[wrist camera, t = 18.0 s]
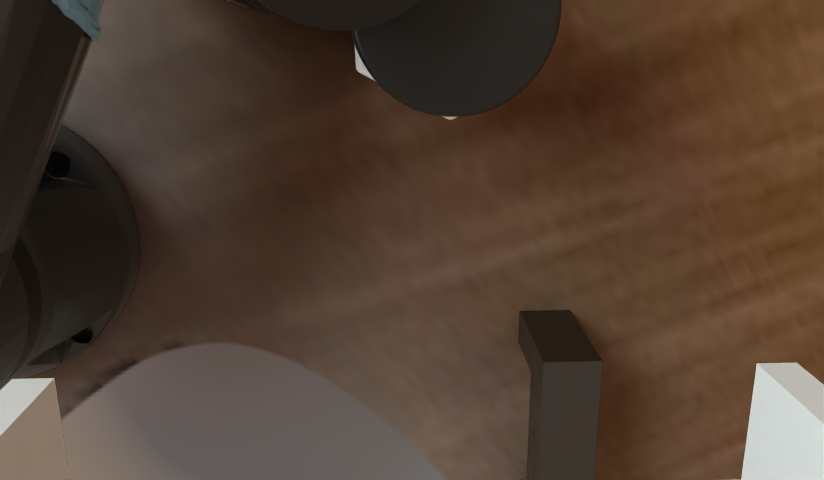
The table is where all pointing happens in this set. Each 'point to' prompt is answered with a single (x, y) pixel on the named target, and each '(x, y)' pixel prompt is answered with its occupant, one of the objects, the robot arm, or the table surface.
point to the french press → (333, 11)
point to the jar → (459, 52)
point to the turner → (560, 396)
